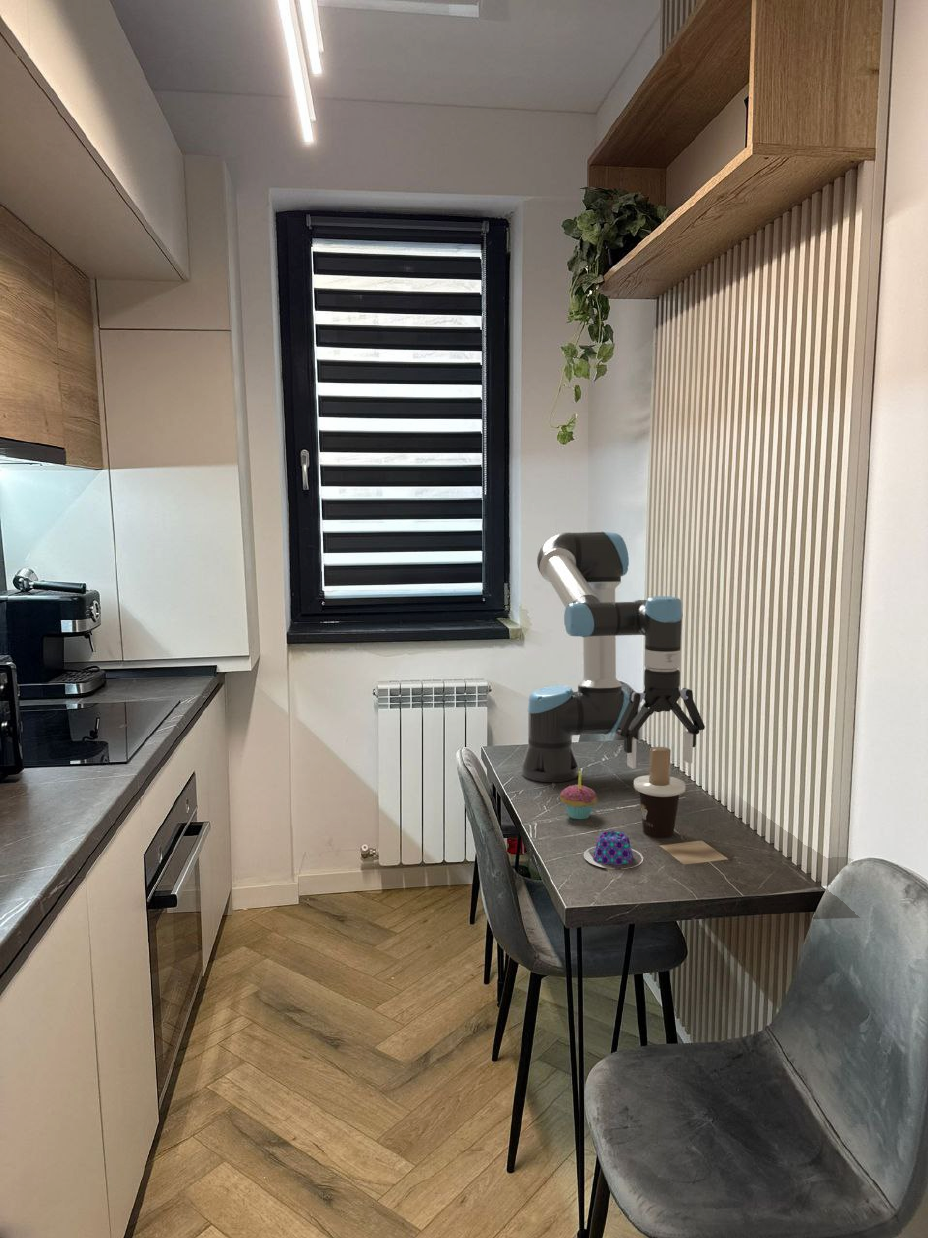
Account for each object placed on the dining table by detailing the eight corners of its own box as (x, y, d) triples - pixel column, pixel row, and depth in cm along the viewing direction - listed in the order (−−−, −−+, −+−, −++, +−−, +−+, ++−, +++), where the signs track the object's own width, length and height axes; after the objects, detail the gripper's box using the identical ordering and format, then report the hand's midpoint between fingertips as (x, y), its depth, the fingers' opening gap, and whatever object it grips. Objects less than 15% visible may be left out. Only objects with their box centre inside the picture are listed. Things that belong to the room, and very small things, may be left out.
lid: (625, 782, 189) (625, 744, 187) (669, 778, 191) (670, 741, 190) (648, 798, 178) (649, 758, 177) (694, 793, 181) (696, 754, 180)
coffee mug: (679, 843, 180) (680, 798, 178) (638, 840, 181) (639, 795, 180) (676, 823, 191) (678, 780, 190) (638, 821, 193) (639, 778, 191)
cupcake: (600, 822, 192) (601, 771, 190) (563, 823, 192) (563, 772, 190) (592, 808, 200) (593, 759, 199) (557, 809, 200) (557, 760, 198)
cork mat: (659, 847, 177) (659, 845, 177) (701, 842, 180) (701, 840, 180) (684, 866, 168) (684, 864, 168) (728, 860, 170) (728, 859, 170)
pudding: (621, 878, 163) (622, 852, 163) (571, 860, 172) (571, 836, 171) (654, 859, 172) (655, 835, 171) (605, 843, 180) (605, 820, 180)
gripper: (616, 675, 174) (615, 774, 177) (723, 668, 181) (719, 764, 184) (601, 668, 182) (599, 764, 184) (704, 662, 188) (701, 754, 191)
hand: (659, 764), depth 184 cm, fingers open, 13 cm apart
